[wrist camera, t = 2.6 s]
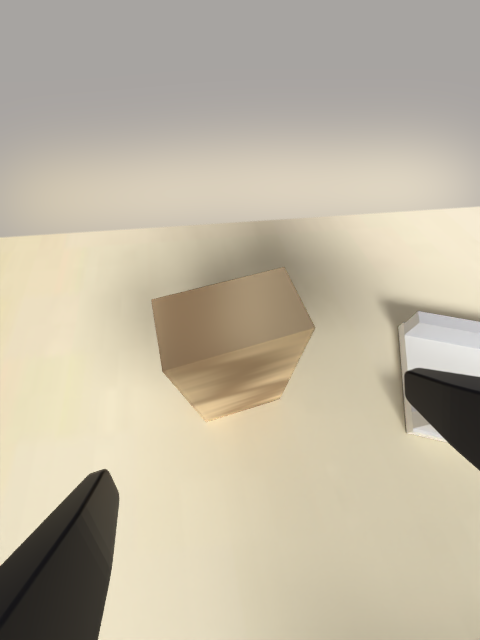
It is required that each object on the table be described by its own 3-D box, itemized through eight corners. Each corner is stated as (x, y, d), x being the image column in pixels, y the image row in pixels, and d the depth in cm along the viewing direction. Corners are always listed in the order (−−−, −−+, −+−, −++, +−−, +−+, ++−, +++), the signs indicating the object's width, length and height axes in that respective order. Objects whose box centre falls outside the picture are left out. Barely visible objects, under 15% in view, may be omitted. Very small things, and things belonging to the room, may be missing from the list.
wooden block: (265, 361, 20) (284, 266, 11) (279, 398, 19) (315, 327, 9) (197, 381, 19) (151, 299, 10) (206, 422, 18) (162, 371, 8)
